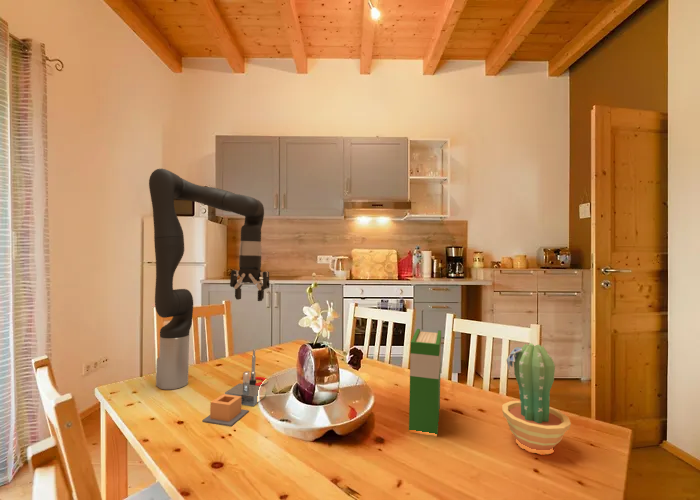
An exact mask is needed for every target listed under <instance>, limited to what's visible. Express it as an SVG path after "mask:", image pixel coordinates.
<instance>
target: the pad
mask: <svg viewBox="0 0 700 500" xmlns="http://www.w3.org/2000/svg"><path fill="white" fill-rule="evenodd" d="M249 412H250V410H249V409H242V408H241V412H240V413H239V414H238V415H237V416H235V417H234V418H233V419H232V420H230V421H223V420H217V419H211V418H210V414H209V415H208V416H206V417H205V418H204V419H202V422H203V423H206V424H207V423H208V424H213V425H214V424H215V425H218V426H219V425H220V426H226V427H232V426H233V425H235V424H236V423H238V422H239V421H240V420H241V419H242V418H244V417H245V416H246V415H247V414H248V413H249Z"/></svg>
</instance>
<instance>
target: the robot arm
mask: <svg viewBox="0 0 700 500" xmlns="http://www.w3.org/2000/svg"><path fill="white" fill-rule="evenodd" d="M148 189H149V194H150V195H149V196H150V201H151V206H152V218H153V231H154V232H153V234H154V235H153V241H154V254H155V255H154V257H155V286H154V287H155V288H154V307H155V311H156V314H157V315H158V316H159V317H160V318H164V319H166V318H167V319H168V318H171V317H172V318H171V320H169V322H168V323H166V324H165V325H164V326H162V327H161V328H160V330H159V354H158V355H159V356H158V357H157V358H156V366H155V367H156V369H155V370H156V371H155V372H156V374H155V387H158V388H159V389H161V390H176V389H179V388H180V389H181V388H183V387H185V386H187V385H188V384H189V365H190V364H189V360H190V359H189V358H190V333H191V332H190V330H191V328H192V325H193V316H194V315H193V313H194V297H193V294H192V293H191V291H190V290H189V289H186V288H177V289H174V287H173V285H174V282H173V281H174V277H175V276H174V275H175V272H176V270H177V268H178V266H179V264H180V262H181V260H182V258H183V256H184V253H185V238H184V237H185V236H184V231H183V228H182V225H181V223H180V220H179V218H178V216H177V212H176V210H175V200H181V201H189V202H195V203H199V204H201V205H205V206H207V207H210V208H213V209H217V210H222V211H224V212H228V213H229V212H230V213H234V214H237V215H241V216H243V217H244V224H243V225H241V228H240V243H239V253H238V254H239V256H238V260H239V261H238V268H239V269H233V270H231V271H230V278H229V279H230V281H229V287H231V288H234V299H236V301H237V300H241V299H242V287H243V285H245V284H248V283H249V284H254V285H255V286H256V288H257V301H258V302H262V301H263V300H264V296H265V290H267V289H269V288H270V272H269V271H267V270H266V271H262V270H261V268H262V254H263V253H262V251H263V249H262V227H263V221H264V218H265V207H264V205H263V203H262V202H261V201H260V200H259V199H257V198H254V197H251V196H249V195H243V194H240V193H239V194H238V193H235V192H232V191H228V190H224V189H221V188H217V187H212V186H203V185H199V184H195V183H193V182H190V181H188V180H186V179H184V178H182V177H180V175H178V174H176V173H175V172H172V171H170V170H169V169H166V168H157V169H155V170H153V171H152V172H151V174H150V176H149V179H148ZM238 276H239V279H238ZM260 277H261V278H262V279H261V278H260Z"/></svg>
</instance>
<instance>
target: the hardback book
mask: <svg viewBox="0 0 700 500" xmlns="http://www.w3.org/2000/svg"><path fill="white" fill-rule="evenodd" d="M409 353H410V355H409V356H410V363H409V364H410V365H409V405H408V409H409V410H408V411H409V412H408V431H409V430H416V431H422V432H429V433H435V434H438V435H439V433H438V432H439V424H438V422H440V412H439V409H441V373H442V372H441V367H442V366H441V365H442V362H441V361H442V330H437V332H434V331H433V332H432V331H431V332H430V331H421V328H416V330H415V332H414V335H413V337H412V338H411V341H410V352H409Z"/></svg>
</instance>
